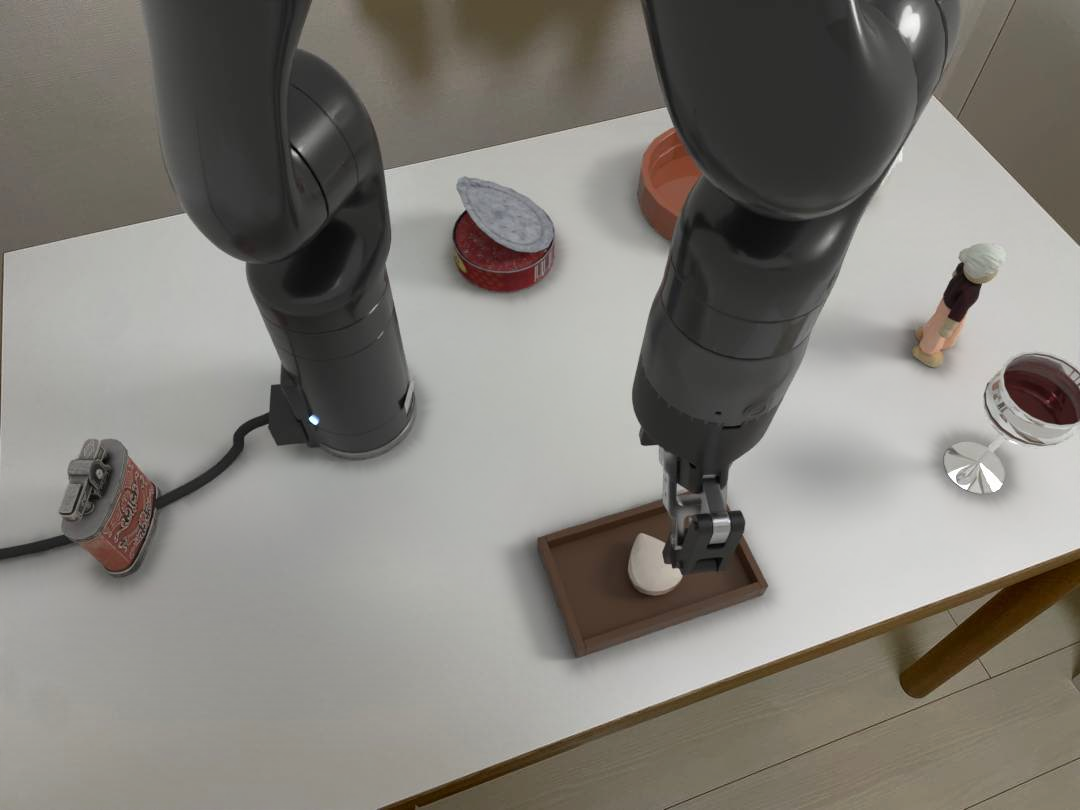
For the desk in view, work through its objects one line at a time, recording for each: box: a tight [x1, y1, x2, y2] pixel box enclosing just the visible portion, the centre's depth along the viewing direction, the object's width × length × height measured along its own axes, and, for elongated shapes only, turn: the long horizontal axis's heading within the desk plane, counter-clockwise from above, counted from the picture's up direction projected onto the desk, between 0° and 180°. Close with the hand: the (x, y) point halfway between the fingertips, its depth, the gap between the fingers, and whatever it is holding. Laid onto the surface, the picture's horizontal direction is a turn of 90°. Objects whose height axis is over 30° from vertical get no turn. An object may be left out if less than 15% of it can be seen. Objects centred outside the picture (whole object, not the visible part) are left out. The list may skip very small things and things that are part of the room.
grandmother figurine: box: [911, 242, 1008, 368], centre depth 73 cm, size 8×4×13 cm, turn 168°
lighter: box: [57, 437, 162, 579], centre depth 63 cm, size 8×3×10 cm, turn 178°
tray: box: [536, 490, 769, 659], centre depth 65 cm, size 15×9×2 cm, turn 109°
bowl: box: [636, 126, 702, 243], centre depth 86 cm, size 15×15×4 cm
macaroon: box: [628, 533, 683, 595], centre depth 64 cm, size 4×5×2 cm
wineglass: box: [943, 350, 1080, 495], centre depth 66 cm, size 7×7×12 cm
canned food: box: [451, 176, 556, 294], centre depth 81 cm, size 11×10×10 cm
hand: (666, 497), depth 56 cm, fingers open, 8 cm apart
